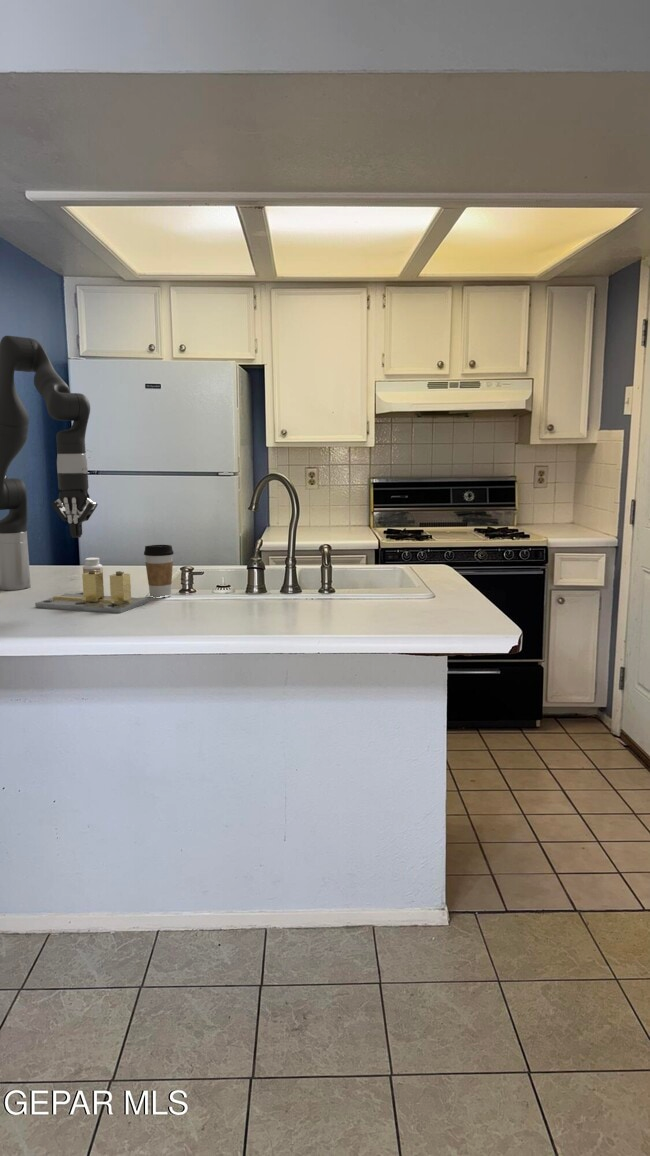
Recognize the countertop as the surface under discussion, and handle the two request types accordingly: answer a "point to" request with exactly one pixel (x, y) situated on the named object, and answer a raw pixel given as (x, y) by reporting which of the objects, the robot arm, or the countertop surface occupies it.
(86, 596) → the block
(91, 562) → the supplement bottle
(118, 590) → the dividers beam
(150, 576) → the coffee cup
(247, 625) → the countertop surface
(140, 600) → the hole plate
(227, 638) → the countertop surface
